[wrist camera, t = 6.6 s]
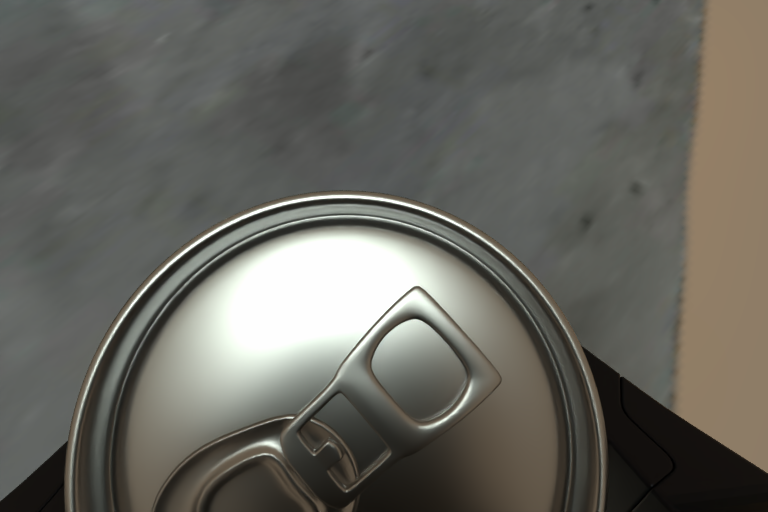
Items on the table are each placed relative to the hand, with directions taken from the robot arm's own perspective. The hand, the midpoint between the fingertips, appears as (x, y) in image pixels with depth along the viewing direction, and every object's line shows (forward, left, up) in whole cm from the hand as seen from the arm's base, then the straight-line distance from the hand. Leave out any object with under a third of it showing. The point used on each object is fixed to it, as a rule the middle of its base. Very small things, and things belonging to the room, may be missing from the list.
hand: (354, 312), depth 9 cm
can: (-1, 0, -7) cm, 7 cm away
